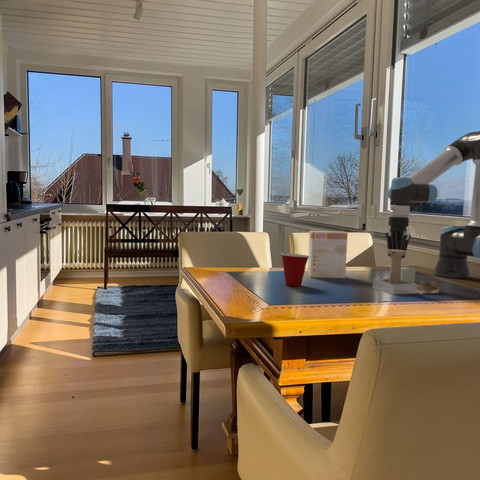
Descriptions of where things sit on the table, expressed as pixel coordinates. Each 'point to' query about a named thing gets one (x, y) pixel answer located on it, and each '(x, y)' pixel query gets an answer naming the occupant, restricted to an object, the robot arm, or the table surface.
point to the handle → (395, 265)
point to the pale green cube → (407, 274)
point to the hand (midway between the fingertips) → (395, 274)
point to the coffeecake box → (327, 254)
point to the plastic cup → (294, 268)
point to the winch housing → (395, 287)
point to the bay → (424, 286)
